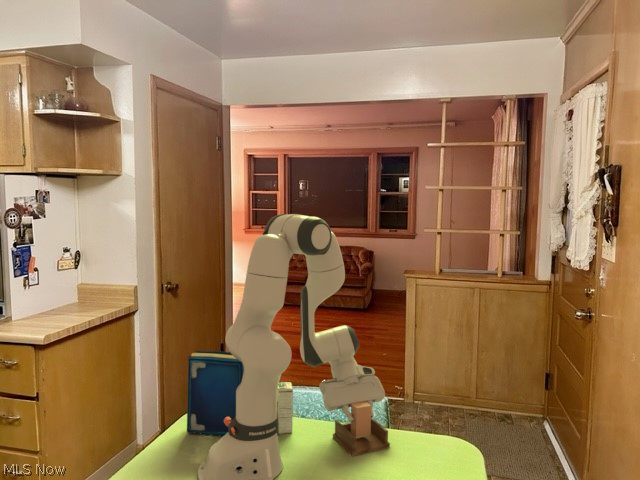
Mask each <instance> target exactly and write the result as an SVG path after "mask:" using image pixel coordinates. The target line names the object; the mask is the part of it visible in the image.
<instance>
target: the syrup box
mask: <svg viewBox="0 0 640 480" xmlns="http://www.w3.org/2000/svg"><path fill="white" fill-rule="evenodd" d="M293 410H294V387H293V384H292V382H290V381H289V382H287V381H281V382H280V381H279V384H278V391H277V415H278V418H279V434H290V433H293V415H294V414H293V412H294V411H293ZM279 434H278V435H279Z"/></svg>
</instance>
